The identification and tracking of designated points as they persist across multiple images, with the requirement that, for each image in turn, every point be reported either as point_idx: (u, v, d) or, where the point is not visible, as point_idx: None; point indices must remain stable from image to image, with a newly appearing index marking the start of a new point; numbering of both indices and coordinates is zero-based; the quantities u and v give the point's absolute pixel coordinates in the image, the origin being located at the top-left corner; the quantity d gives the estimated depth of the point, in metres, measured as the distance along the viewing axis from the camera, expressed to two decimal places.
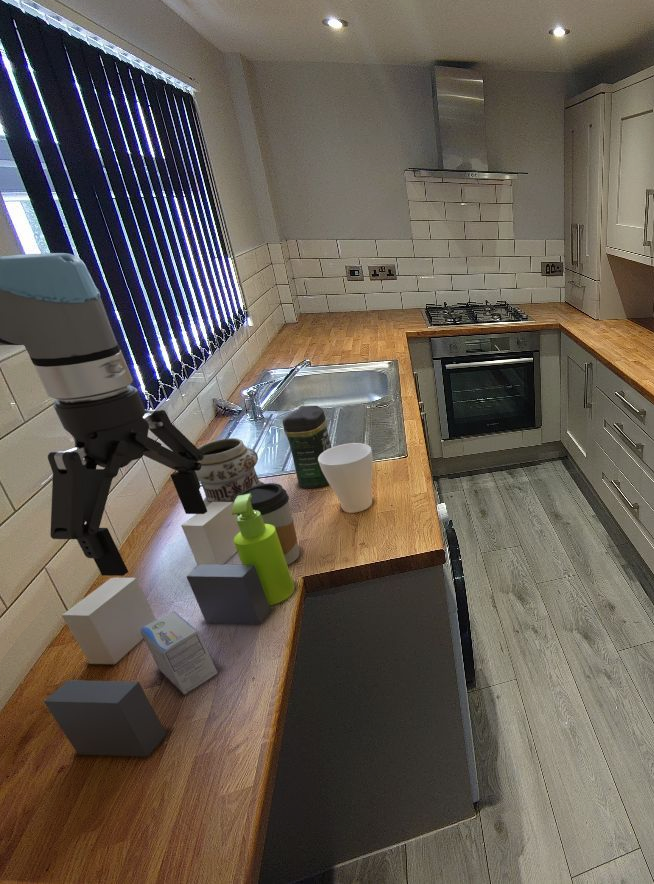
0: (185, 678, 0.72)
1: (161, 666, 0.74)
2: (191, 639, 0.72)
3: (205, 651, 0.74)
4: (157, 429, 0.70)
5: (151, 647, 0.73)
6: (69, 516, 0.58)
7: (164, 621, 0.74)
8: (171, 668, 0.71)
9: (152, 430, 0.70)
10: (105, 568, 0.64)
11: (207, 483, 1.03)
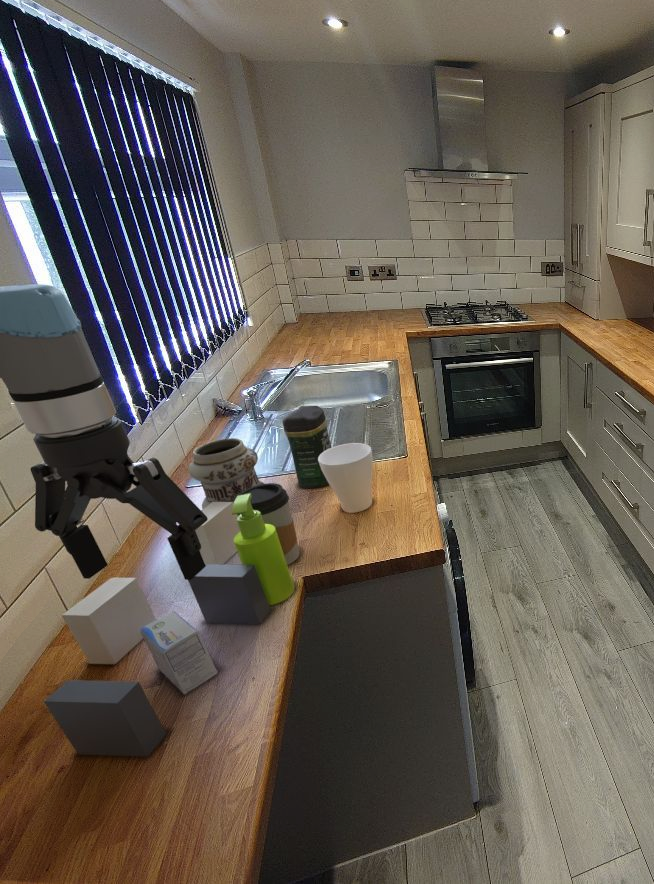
0: (185, 678, 0.72)
1: (161, 666, 0.74)
2: (191, 639, 0.72)
3: (205, 651, 0.74)
4: (55, 481, 0.63)
5: (151, 647, 0.73)
6: (192, 505, 0.65)
7: (164, 621, 0.74)
8: (171, 668, 0.71)
9: (48, 486, 0.63)
10: (193, 568, 0.68)
11: (207, 483, 1.03)
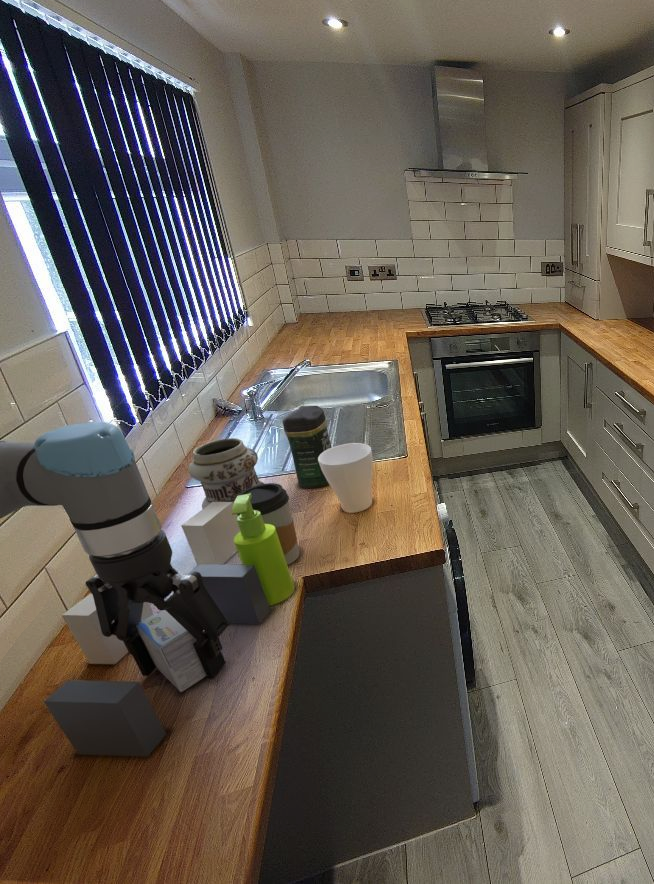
0: (181, 674, 0.72)
1: (157, 662, 0.74)
2: (187, 635, 0.72)
3: None
4: (109, 590, 0.70)
5: (147, 643, 0.72)
6: (219, 613, 0.72)
7: (160, 617, 0.74)
8: (167, 664, 0.70)
9: (104, 596, 0.69)
10: (214, 667, 0.75)
11: (207, 483, 1.03)
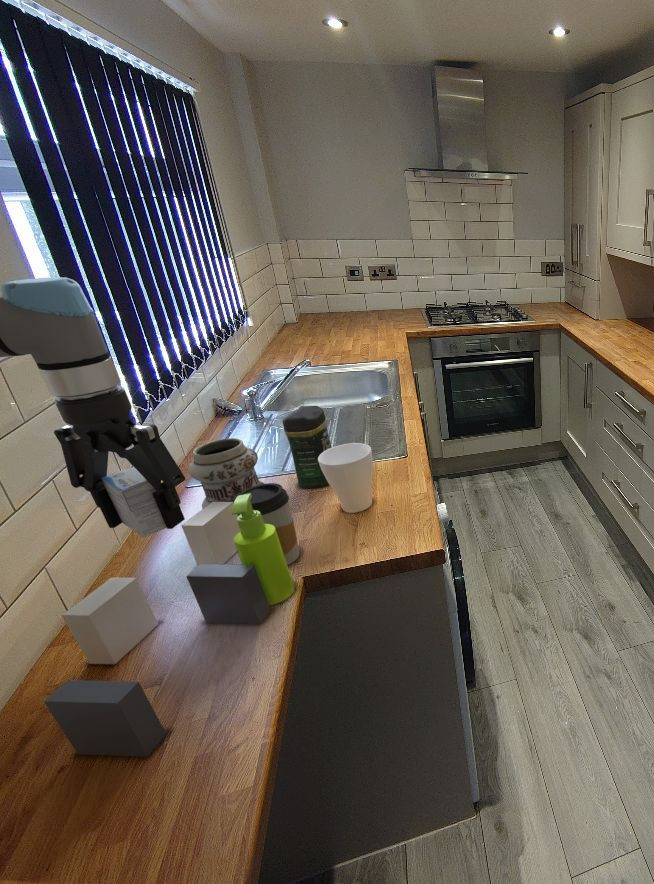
0: (142, 520, 0.80)
1: (121, 513, 0.82)
2: (147, 484, 0.80)
3: None
4: (76, 442, 0.78)
5: (111, 493, 0.80)
6: (175, 466, 0.80)
7: (124, 472, 0.82)
8: (128, 508, 0.78)
9: (71, 446, 0.78)
10: (173, 519, 0.83)
11: (207, 483, 1.03)
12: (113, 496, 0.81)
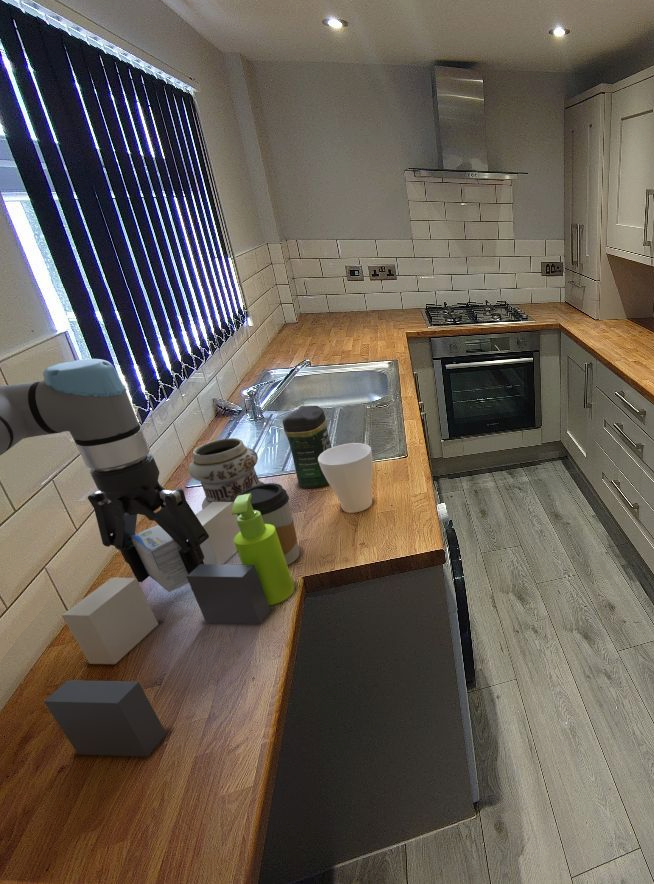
0: (169, 576, 0.86)
1: (149, 569, 0.88)
2: (173, 543, 0.85)
3: None
4: (107, 505, 0.84)
5: (140, 551, 0.86)
6: (200, 526, 0.86)
7: (151, 531, 0.88)
8: (157, 566, 0.84)
9: (103, 509, 0.83)
10: None
11: (207, 483, 1.03)
12: (142, 554, 0.86)
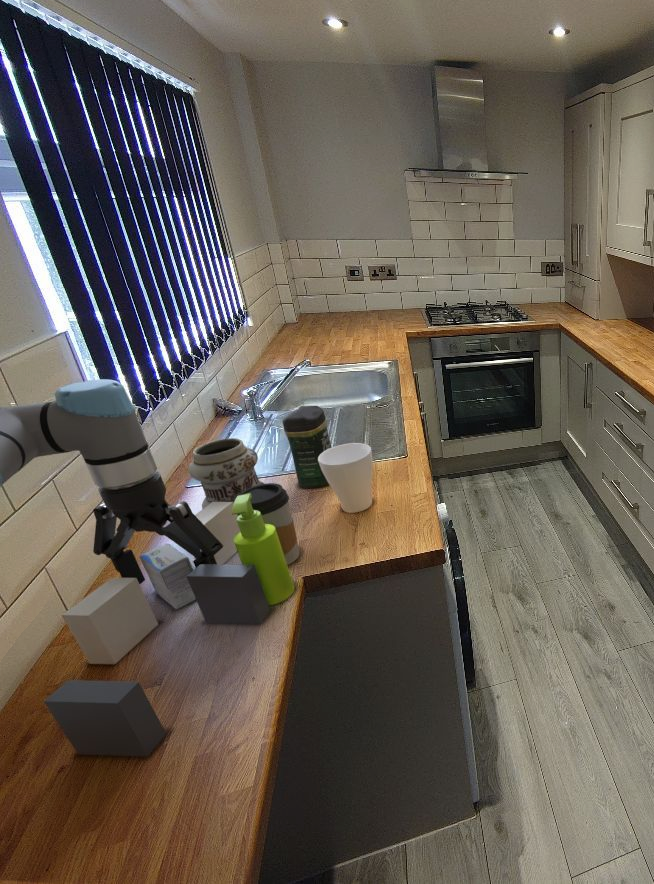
0: (177, 595, 0.87)
1: (157, 587, 0.89)
2: (182, 563, 0.87)
3: None
4: (110, 518, 0.85)
5: (149, 570, 0.88)
6: (212, 536, 0.87)
7: (160, 550, 0.89)
8: (165, 585, 0.86)
9: (105, 522, 0.84)
10: None
11: (207, 483, 1.03)
12: (150, 573, 0.88)
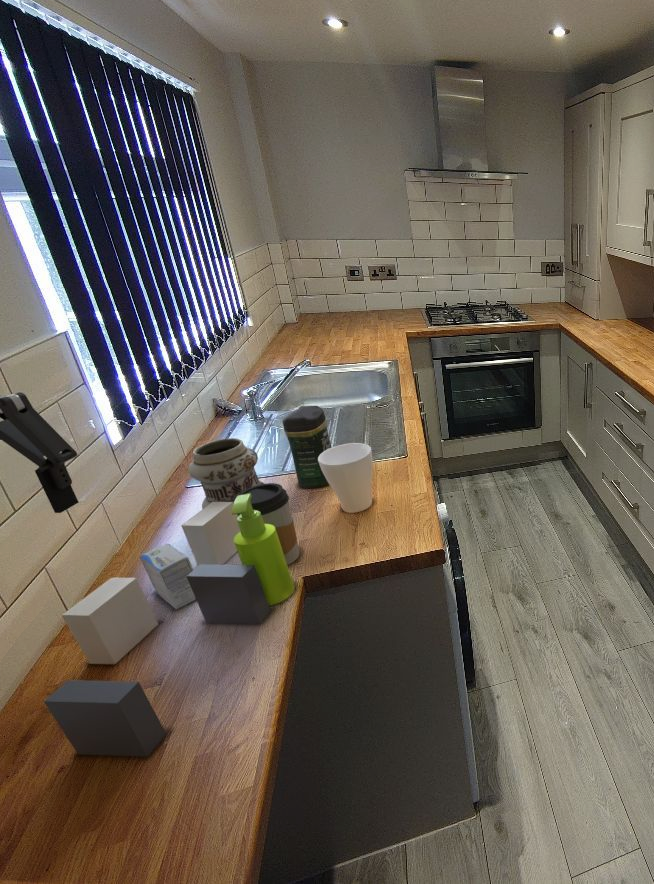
0: (177, 595, 0.87)
1: (157, 587, 0.89)
2: (182, 563, 0.87)
3: None
4: None
5: (149, 570, 0.88)
6: (61, 440, 0.69)
7: (160, 550, 0.89)
8: (165, 586, 0.86)
9: None
10: (63, 502, 0.71)
11: (207, 483, 1.03)
12: (150, 573, 0.88)
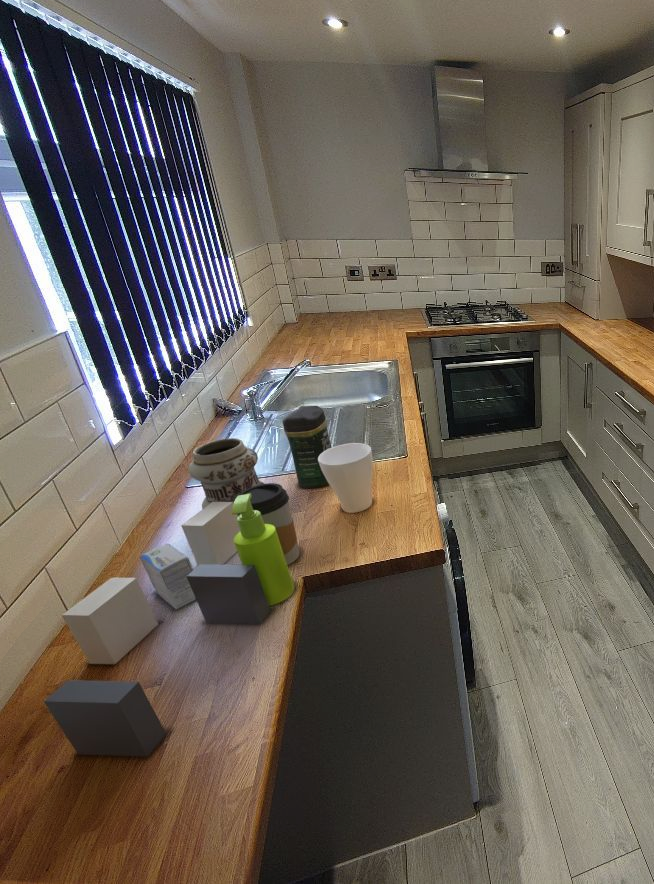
0: (177, 595, 0.87)
1: (157, 587, 0.89)
2: (182, 563, 0.87)
3: None
4: None
5: (149, 570, 0.88)
6: None
7: (160, 550, 0.89)
8: (165, 585, 0.86)
9: None
10: None
11: (207, 483, 1.03)
12: (150, 573, 0.88)
